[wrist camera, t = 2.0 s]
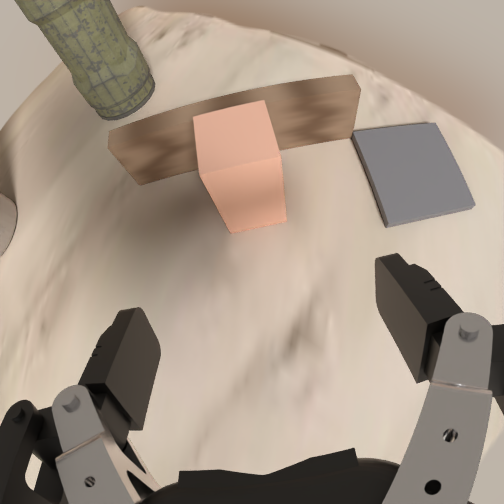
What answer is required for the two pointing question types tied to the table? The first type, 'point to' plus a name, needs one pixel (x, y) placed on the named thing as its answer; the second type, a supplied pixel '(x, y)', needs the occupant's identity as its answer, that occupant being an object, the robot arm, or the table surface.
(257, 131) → the marked block
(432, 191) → the charcoal mat
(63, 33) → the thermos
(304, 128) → the walnut screen
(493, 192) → the table surface
